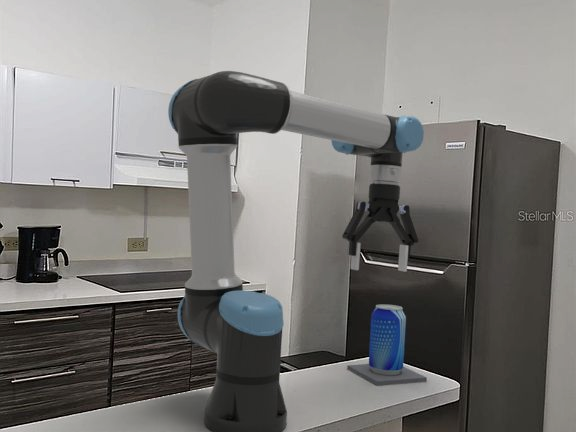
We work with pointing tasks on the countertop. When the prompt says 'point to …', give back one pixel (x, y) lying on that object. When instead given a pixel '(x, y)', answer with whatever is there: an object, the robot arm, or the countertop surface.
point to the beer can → (387, 339)
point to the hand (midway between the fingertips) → (378, 270)
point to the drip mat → (379, 379)
